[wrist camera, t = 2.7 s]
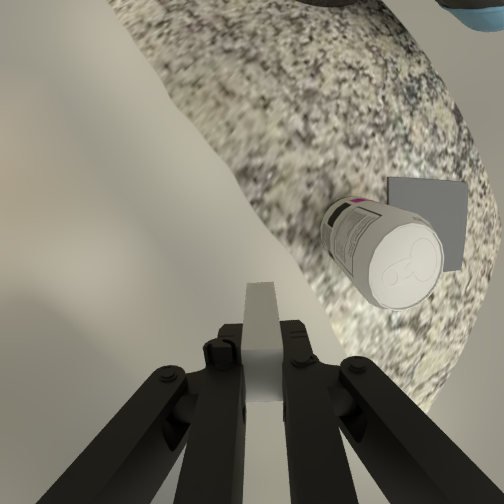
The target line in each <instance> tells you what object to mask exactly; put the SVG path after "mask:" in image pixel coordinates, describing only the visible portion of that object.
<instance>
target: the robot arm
mask: <svg viewBox="0 0 504 504" xmlns="http://www.w3.org/2000/svg"><path fill="white" fill-rule="evenodd" d="M297 1H300V2H303V3H307V4H311V5H316V6H324V7H340V6H346V5H350V4H353V3H355V2H357V1H358V0H297ZM435 1H436V2H438V4H439V5H440V6H441V7H442V8H443V9H445V10H447V11H449V12H450V13H452V14H453V15H454V16H455V17H456V18H457V19H458V20H460V21H461V22H462V23H463V24H464V25H466V26H467V27H469V28H471V29H473V30H476V31H482V32H495V31H501V30H504V0H435ZM203 351H204V357H205V362H206V367H205V368H204V369H203V370H200V371H197V372H192V373H187V374H185V371H184V370H183V369H182V368H181V367H178V366H174V365H168V366H163V367H160V368H158V369H156V370H155V371H154V372H153V373H152V374H151V375H150V376H149V377H148V379H147V380H146V381H145V382H144V383H143V384H142V385H141V386H140V388H139V389H138V390H137V391H136V392H135V393H134V394H133V396H132V397H131V398H130V399H129V400H128V401H127V402H126V403H125V405H124V406H123V407H122V408H121V409H120V410H119V411H118V413H117V414H116V415H115V416H114V417H113V418H112V419H111V420H110V421H109V423H108V424H107V425H106V426H105V427H104V428H103V429H102V430H101V432H100V433H99V434H98V435H97V436H96V437H95V438H94V439H93V440H92V442H91V443H90V444H89V445H88V446H87V448H85V449H84V451H83V452H82V453H81V454H80V455H79V456H78V457H77V458H76V459H75V461H74V462H73V463H72V464H71V465H70V466H69V467H68V468H67V470H66V471H65V472H64V473H63V474H62V475H61V476H60V477H59V479H58V480H57V481H56V482H55V483H54V484H53V485H52V486H51V487H50V488H49V490H48V491H47V492H46V493H45V494H44V495H43V496H42V497H41V498H40V500H39V501H38V502H37V503H36V504H150V503H151V501H152V499H153V498H154V496H155V495H156V493H157V491H158V490H159V488H160V487H161V485H162V483H163V482H164V480H165V479H166V477H167V475H168V474H169V472H170V470H171V469H172V467H173V465H174V463H175V462H176V460H177V459H178V457H179V455H180V453H181V452H182V450H183V448H184V447H185V445H186V443H187V446H186V449H185V454H184V458H183V463H182V467H181V471H180V475H179V480H178V484H177V489H176V494H175V498H174V502H173V504H242V501H243V479H244V456H245V432H246V405H245V403H246V402H270V401H283V422H284V424H285V435H286V447H287V457H288V458H287V459H288V471H289V484H290V496H291V504H359V503H358V499H357V495H356V491H355V487H354V483H353V479H352V475H351V471H350V468H349V464H348V460H347V456H346V452H345V449H344V445H343V441H342V437H341V434H340V430H339V428H340V429H341V431H342V433H343V434H344V435H345V437H346V439H347V440H348V442H349V443H350V445H351V446H352V448H353V449H354V451H355V452H356V454H357V455H358V457H359V458H360V460H361V461H362V463H363V464H364V466H365V467H366V469H367V470H368V472H369V473H370V475H371V476H372V478H373V479H374V480H375V482H376V484H377V485H378V486H379V488H380V489H381V491H382V492H383V494H384V495H385V497H386V498H387V500H388V501H389V503H390V504H504V493H503V492H502V491H501V490H500V489H499V488H498V487H497V486H496V485H495V484H494V483H493V482H492V481H491V480H490V479H489V478H488V477H487V476H486V475H485V474H484V473H483V472H482V471H481V470H480V469H479V468H478V467H477V466H476V464H475V463H474V462H473V461H471V459H469V457H468V456H467V455H466V454H465V453H464V452H463V451H462V450H461V449H460V448H459V447H458V446H457V445H456V444H455V443H454V442H453V441H452V440H451V439H450V438H449V437H448V436H447V435H446V434H445V433H444V432H443V431H442V430H441V429H440V428H439V427H438V426H437V425H436V424H435V423H434V422H433V421H432V420H431V419H430V418H429V417H428V416H427V415H426V414H425V413H424V412H423V411H422V410H421V409H420V408H419V407H418V406H417V405H416V404H415V403H414V402H413V401H412V400H411V399H410V398H409V397H408V396H407V395H406V394H405V393H404V392H403V391H402V390H401V389H400V388H399V387H398V386H397V385H396V384H395V383H394V382H393V381H392V380H391V379H390V378H389V377H388V376H387V375H386V374H385V373H384V372H383V371H382V370H381V369H380V368H379V367H378V366H377V365H376V364H375V363H374V362H373V361H371V360H370V359H368V358H366V357H362V356H352V357H348V358H346V359H344V360H343V361H342V362H341V364H340V366H337V365H328V364H324V363H322V362H320V361H319V359H318V358H317V356H316V355H314V354H313V351H312V348H311V345H310V341H309V338H308V334H307V332H306V328H305V325H304V324H303V323H302V322H301V321H300V320H287V321H279V315H278V308H277V301H276V294H275V288H274V282H261V283H247V288H246V299H245V310H244V320H243V324H224V325H223V326H222V327H221V328H220V329H219V332H218V337H217V338H215V339H212V340H210V341H208V342H207V343H205V345H204V346H203ZM338 426H339V427H338Z"/></svg>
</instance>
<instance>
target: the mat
mask: <svg viewBox="0 0 504 504" xmlns="http://www.w3.org/2000/svg"><path fill="white" fill-rule="evenodd" d="M387 185H388V204H387V205H390V206H393V207H396V208H400V209H403V210H406V211H409V212H413V213H416V214H418V215H420V216H421V217H422V218H424V219H425V220H427V221H428V222H429V223H430V225H431V226H432V228H433V229H434V231H435V233H436V234H437V237H438V238H439V240H440V242H441V243H442V248H443V253H444V264H443V272H447V271H456V270H461V267H462V260H463V253H464V245H465V235H466V223H467V207H468V183H465V182H455V181H444V180H431V179H416V178H397V177H387Z"/></svg>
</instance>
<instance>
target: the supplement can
mask: <svg viewBox="0 0 504 504" xmlns="http://www.w3.org/2000/svg"><path fill="white" fill-rule="evenodd" d="M320 230H321V241H322V243H323V246H324V248H325V250H326V251H327V252H328V254H329V255H330V256H331V257H332V258H333V260H334V261H335V262H336V263H337V265H338V266H339V267H340V268H341V269H342V271H343V272H344V273H345V274H346V276H347V277H348V278H349V279H350V281H351V282H352V283H353V284H354V286H355V287H356V288H357V289H358V291H359V292H360V293H361V294H362V295H363V297H364V298H365V299H366V300H367V301H368V302H369V303H370V304H372V305H374V306H377V307H379V308H381V309H390V310H394V311H405V310H408V309H411V308H413V307H416V306H418V305H419V304H421V303H422V302H423V301H424V300H426V299H427V298H428V297H429V296H430V295H431V293H432V292H433V291H434V289H435V288H436V287H437V285H438V282H439V280H440V277H441V275H442V272H443V264H444V253H443V248H442V243H441V242H440V240H439V238H438V237H437V234H436V233H435V231H434V229H433V228H432V226H431V225H430V223H429V222H428V221H427V220H425V219H424V218H422V217H421V216H420V215H418V214H416V213H413V212H409V211H406V210H403V209H400V208H396V207H393V206H390V205H386V204H383V203H379V202H375V201H372V200H368V199H365V198H359V197H353V196H352V197H347V198H343V199H340V200H339V201H337V202H336V203H334V204H333V205H331V206H330V208H329V209H328V211H327V212H326V213H325V215H324V217H323V220H322V223H321V227H320Z"/></svg>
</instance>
